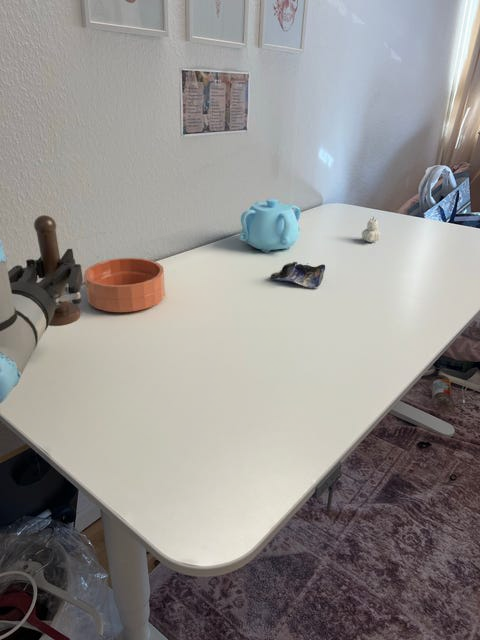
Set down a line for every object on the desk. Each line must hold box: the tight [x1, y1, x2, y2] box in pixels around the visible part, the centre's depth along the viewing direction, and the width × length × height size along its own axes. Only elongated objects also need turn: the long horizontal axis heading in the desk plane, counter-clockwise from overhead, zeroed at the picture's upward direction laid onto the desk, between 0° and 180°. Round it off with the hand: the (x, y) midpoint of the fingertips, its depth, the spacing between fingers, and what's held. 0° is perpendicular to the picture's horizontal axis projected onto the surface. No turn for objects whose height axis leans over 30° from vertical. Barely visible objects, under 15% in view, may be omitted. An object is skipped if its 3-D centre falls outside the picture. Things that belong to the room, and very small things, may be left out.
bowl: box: [83, 257, 166, 313], centre depth 104 cm, size 17×17×6 cm
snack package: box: [270, 261, 326, 290], centre depth 116 cm, size 12×6×12 cm
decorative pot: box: [238, 198, 301, 253], centre depth 137 cm, size 16×16×14 cm
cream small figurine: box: [361, 215, 381, 243], centre depth 143 cm, size 5×7×8 cm
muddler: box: [33, 214, 81, 327], centre depth 78 cm, size 6×6×18 cm
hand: (60, 256), depth 82 cm, fingers closed on muddler, 3 cm apart
